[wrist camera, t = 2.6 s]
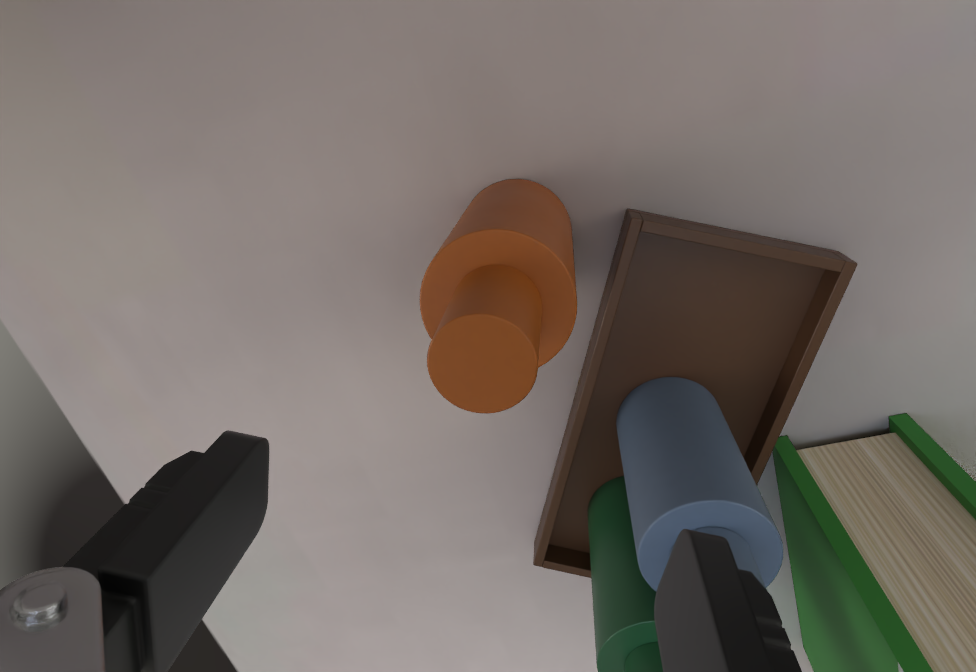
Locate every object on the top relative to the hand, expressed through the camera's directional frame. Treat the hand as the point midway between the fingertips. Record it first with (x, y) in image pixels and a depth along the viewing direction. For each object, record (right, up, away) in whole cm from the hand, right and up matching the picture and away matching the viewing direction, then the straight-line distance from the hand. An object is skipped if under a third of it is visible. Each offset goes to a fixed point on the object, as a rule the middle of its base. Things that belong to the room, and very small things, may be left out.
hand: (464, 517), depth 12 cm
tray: (+11, -1, +25) cm, 27 cm away
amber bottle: (+2, +9, +21) cm, 23 cm away
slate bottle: (+11, -2, +24) cm, 27 cm away
